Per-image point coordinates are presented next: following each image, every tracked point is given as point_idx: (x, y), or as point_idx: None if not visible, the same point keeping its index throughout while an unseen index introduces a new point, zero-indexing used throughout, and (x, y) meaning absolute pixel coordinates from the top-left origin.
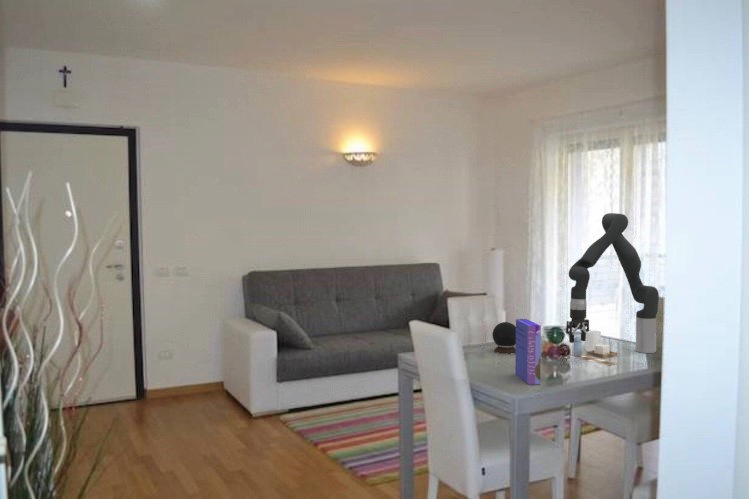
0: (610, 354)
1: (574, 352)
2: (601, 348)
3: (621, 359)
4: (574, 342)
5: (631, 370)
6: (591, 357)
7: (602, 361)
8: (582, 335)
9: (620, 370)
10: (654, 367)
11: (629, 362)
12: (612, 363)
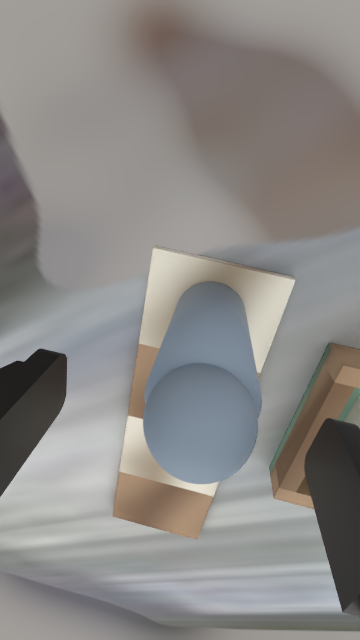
0: None
1: (173, 314)
2: None
3: None
4: (150, 373)
5: (117, 579)
6: None
7: (170, 484)
8: (349, 524)
9: (79, 553)
10: (246, 629)
11: (287, 563)
12: (160, 526)
